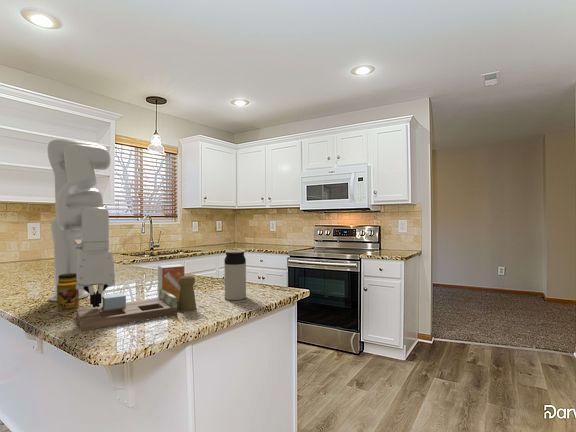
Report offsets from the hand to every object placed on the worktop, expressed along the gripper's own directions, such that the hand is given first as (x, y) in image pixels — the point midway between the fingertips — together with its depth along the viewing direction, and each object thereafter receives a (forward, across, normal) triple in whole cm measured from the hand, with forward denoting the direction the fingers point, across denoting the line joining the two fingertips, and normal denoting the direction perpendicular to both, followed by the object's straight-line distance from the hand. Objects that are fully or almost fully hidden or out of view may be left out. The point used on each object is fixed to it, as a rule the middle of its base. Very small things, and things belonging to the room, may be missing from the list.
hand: (95, 306), depth 108 cm
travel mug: (+4, +46, -3) cm, 46 cm away
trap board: (+3, +8, -4) cm, 10 cm away
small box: (+4, +25, +7) cm, 26 cm away
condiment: (+4, -7, +16) cm, 17 cm away
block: (+1, +5, 0) cm, 5 cm away
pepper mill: (+4, +26, -7) cm, 27 cm away
